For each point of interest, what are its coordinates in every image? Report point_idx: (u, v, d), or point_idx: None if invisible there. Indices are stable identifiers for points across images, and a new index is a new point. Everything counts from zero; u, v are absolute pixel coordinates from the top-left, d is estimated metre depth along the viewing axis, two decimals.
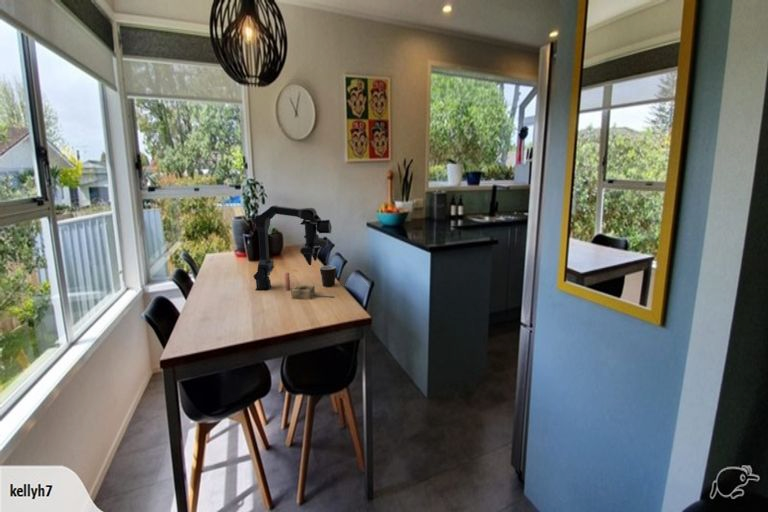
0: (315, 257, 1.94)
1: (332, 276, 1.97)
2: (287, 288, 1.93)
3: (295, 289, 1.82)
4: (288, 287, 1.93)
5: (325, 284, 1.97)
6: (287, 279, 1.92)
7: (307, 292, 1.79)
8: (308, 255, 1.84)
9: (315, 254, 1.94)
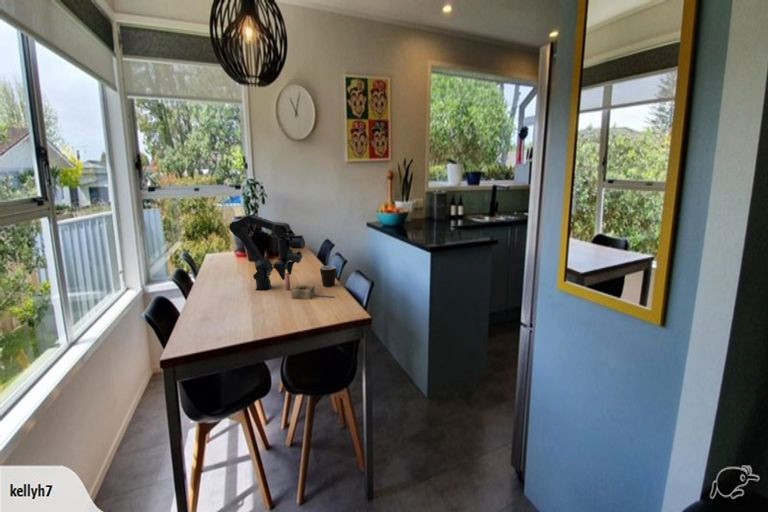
0: (290, 271, 1.97)
1: (332, 276, 1.97)
2: (287, 288, 1.93)
3: (295, 289, 1.82)
4: (288, 287, 1.93)
5: (325, 284, 1.97)
6: (287, 279, 1.92)
7: (307, 292, 1.79)
8: (281, 270, 1.86)
9: (290, 268, 1.97)
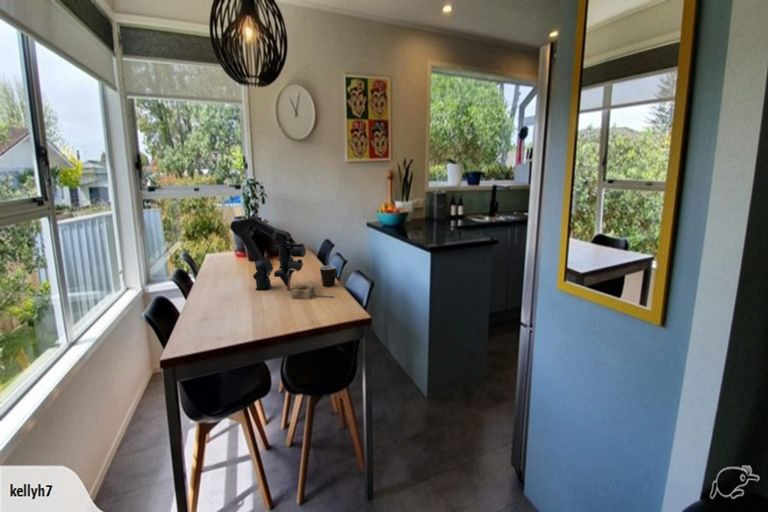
0: None
1: (332, 276, 1.97)
2: (287, 288, 1.93)
3: (295, 289, 1.82)
4: (288, 287, 1.93)
5: (325, 284, 1.97)
6: None
7: (307, 292, 1.79)
8: (284, 276, 1.90)
9: None
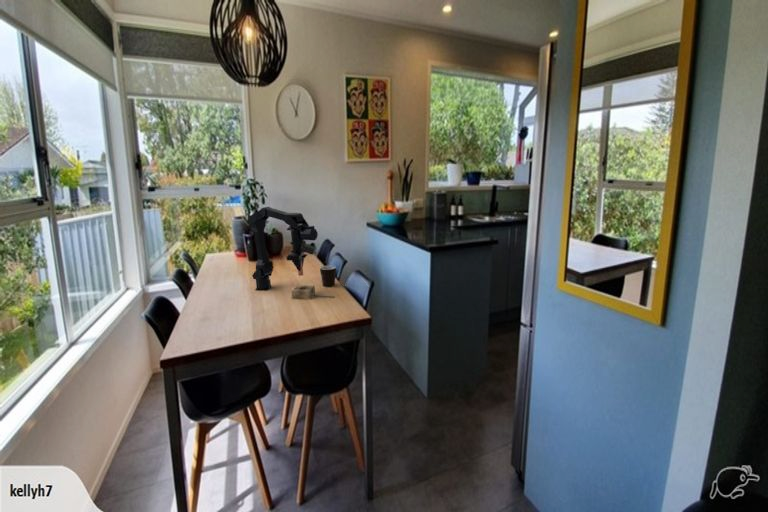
0: None
1: (332, 276, 1.97)
2: (300, 273, 1.82)
3: (295, 289, 1.82)
4: (301, 272, 1.82)
5: (325, 284, 1.97)
6: None
7: (307, 292, 1.79)
8: (297, 261, 1.79)
9: None
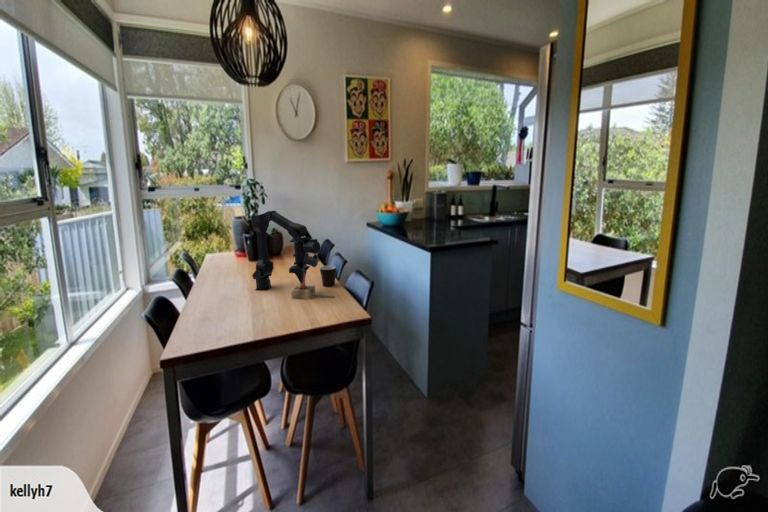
0: None
1: (332, 276, 1.97)
2: (302, 285, 1.82)
3: (295, 289, 1.82)
4: (303, 284, 1.82)
5: (325, 284, 1.97)
6: None
7: (307, 292, 1.79)
8: (299, 273, 1.79)
9: None
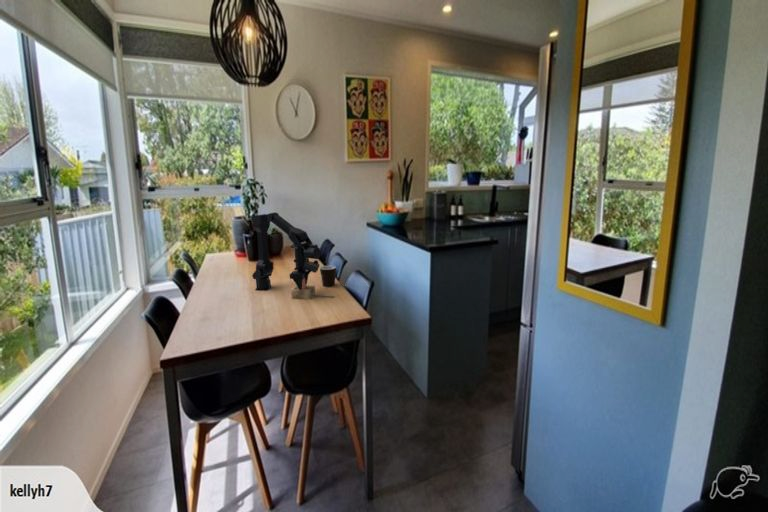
0: (305, 281, 1.87)
1: (332, 276, 1.97)
2: None
3: (295, 289, 1.82)
4: None
5: (325, 284, 1.97)
6: (303, 285, 1.82)
7: (307, 292, 1.79)
8: (298, 280, 1.78)
9: (305, 278, 1.86)
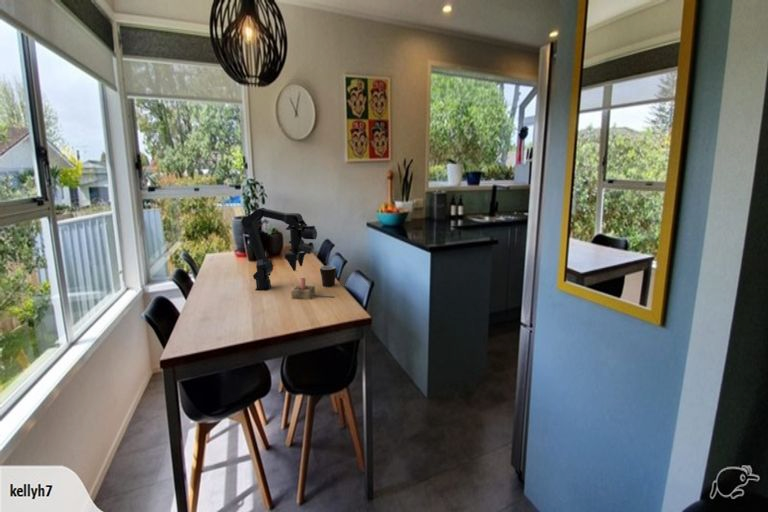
0: (301, 262, 1.94)
1: (332, 276, 1.97)
2: None
3: (295, 289, 1.82)
4: None
5: (325, 284, 1.97)
6: (303, 285, 1.82)
7: (307, 292, 1.79)
8: (292, 261, 1.83)
9: (301, 259, 1.94)
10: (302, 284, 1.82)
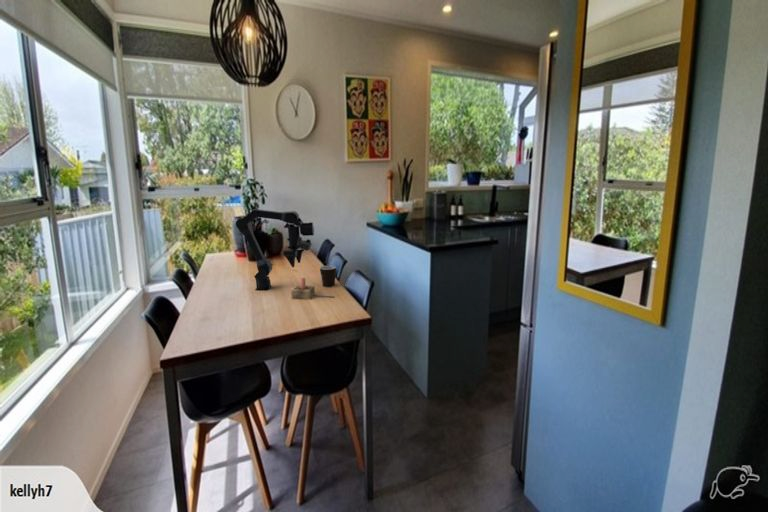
0: (299, 259, 1.99)
1: (332, 276, 1.97)
2: None
3: (295, 289, 1.82)
4: None
5: (325, 284, 1.97)
6: (303, 285, 1.82)
7: (307, 292, 1.79)
8: (291, 257, 1.88)
9: (299, 256, 1.99)
10: (302, 284, 1.82)
